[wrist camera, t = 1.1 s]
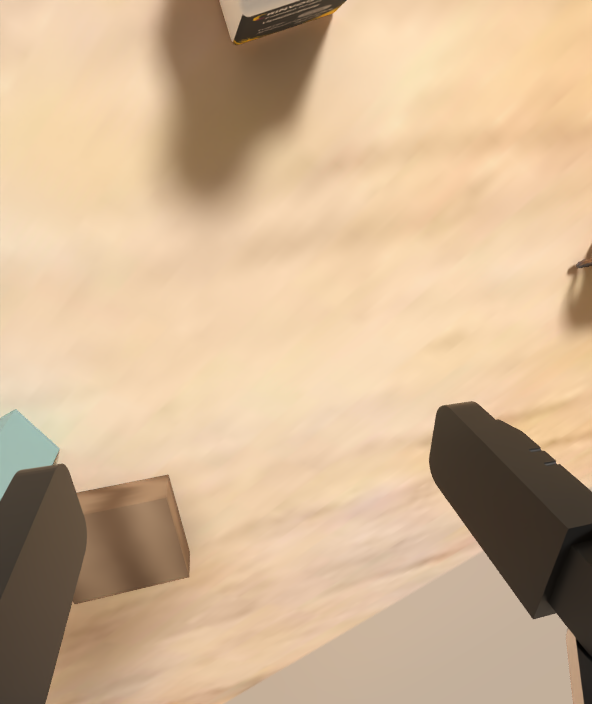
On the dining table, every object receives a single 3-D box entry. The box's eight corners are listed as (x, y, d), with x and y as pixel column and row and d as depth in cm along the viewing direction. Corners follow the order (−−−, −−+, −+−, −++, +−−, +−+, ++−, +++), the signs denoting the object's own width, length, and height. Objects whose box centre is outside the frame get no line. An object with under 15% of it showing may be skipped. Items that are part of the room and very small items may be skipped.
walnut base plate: (82, 576, 43) (74, 604, 41) (45, 499, 38) (34, 524, 36) (189, 551, 45) (189, 577, 42) (168, 474, 40) (166, 497, 37)
